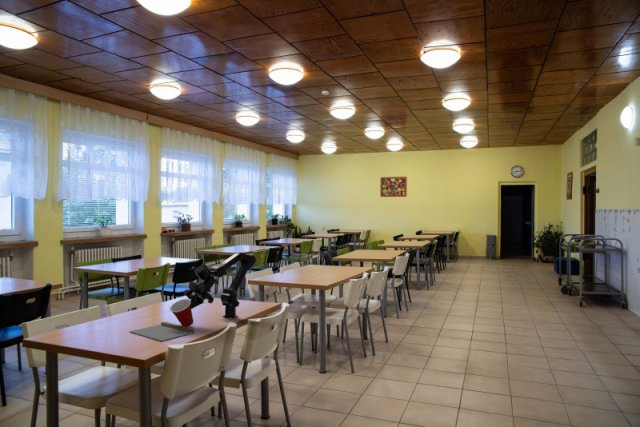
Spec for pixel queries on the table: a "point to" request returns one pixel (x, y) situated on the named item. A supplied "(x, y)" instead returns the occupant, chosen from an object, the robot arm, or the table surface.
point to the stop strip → (177, 327)
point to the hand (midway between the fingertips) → (189, 309)
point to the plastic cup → (183, 312)
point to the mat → (160, 332)
